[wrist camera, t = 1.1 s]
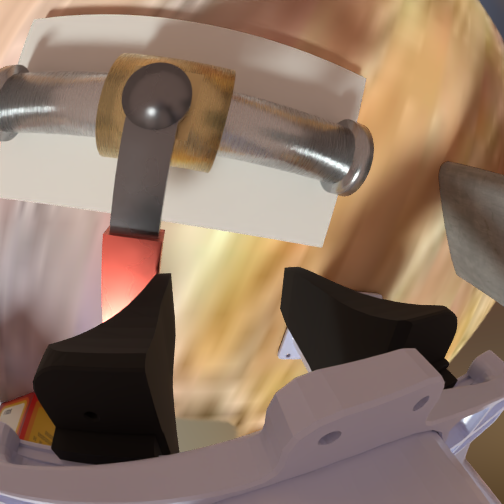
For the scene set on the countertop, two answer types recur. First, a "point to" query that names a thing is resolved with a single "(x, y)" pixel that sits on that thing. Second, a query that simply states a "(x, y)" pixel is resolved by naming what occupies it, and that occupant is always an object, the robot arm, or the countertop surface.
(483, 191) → the hip flask
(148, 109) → the valve lever
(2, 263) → the countertop surface
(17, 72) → the ball valve
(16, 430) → the baking soda box
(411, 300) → the countertop surface
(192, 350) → the countertop surface
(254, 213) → the mounting board
